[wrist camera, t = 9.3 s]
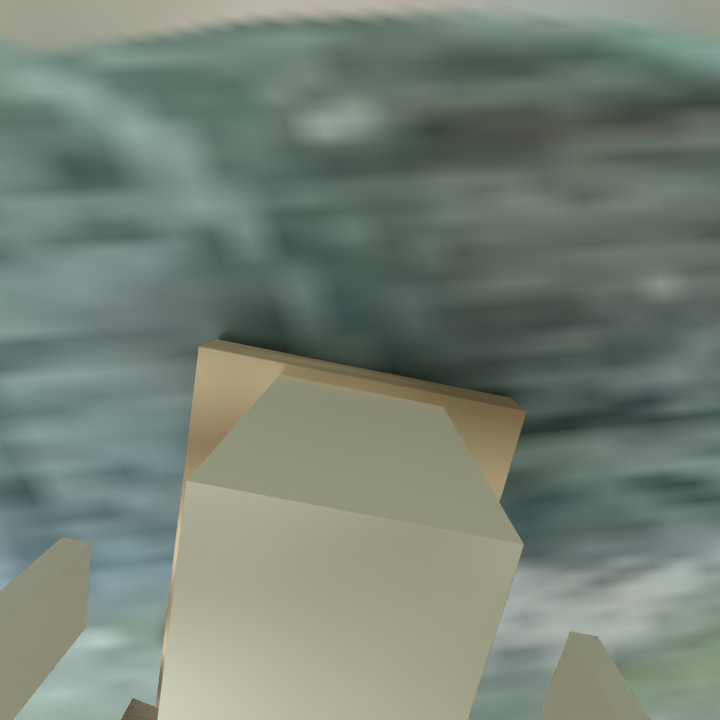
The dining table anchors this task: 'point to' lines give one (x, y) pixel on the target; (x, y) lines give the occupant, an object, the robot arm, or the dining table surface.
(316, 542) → the cream rectangular block
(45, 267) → the dining table surface
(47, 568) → the robot arm
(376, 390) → the base plate
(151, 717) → the t key
